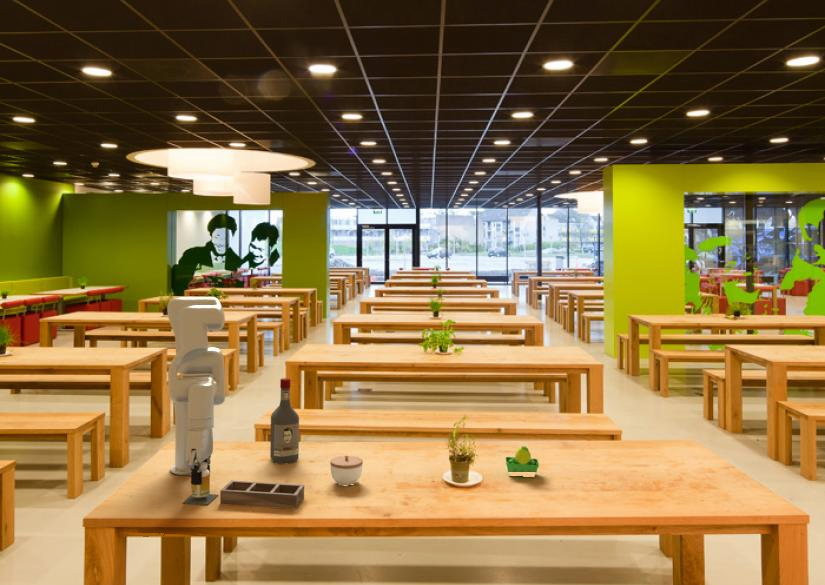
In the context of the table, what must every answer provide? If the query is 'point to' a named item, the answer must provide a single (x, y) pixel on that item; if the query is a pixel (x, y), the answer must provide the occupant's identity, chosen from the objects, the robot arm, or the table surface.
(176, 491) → the table surface
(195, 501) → the mat
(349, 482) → the lidded jar
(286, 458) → the liquor
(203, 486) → the supplement bottle
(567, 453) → the table surface
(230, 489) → the rack
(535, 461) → the fruit basket
